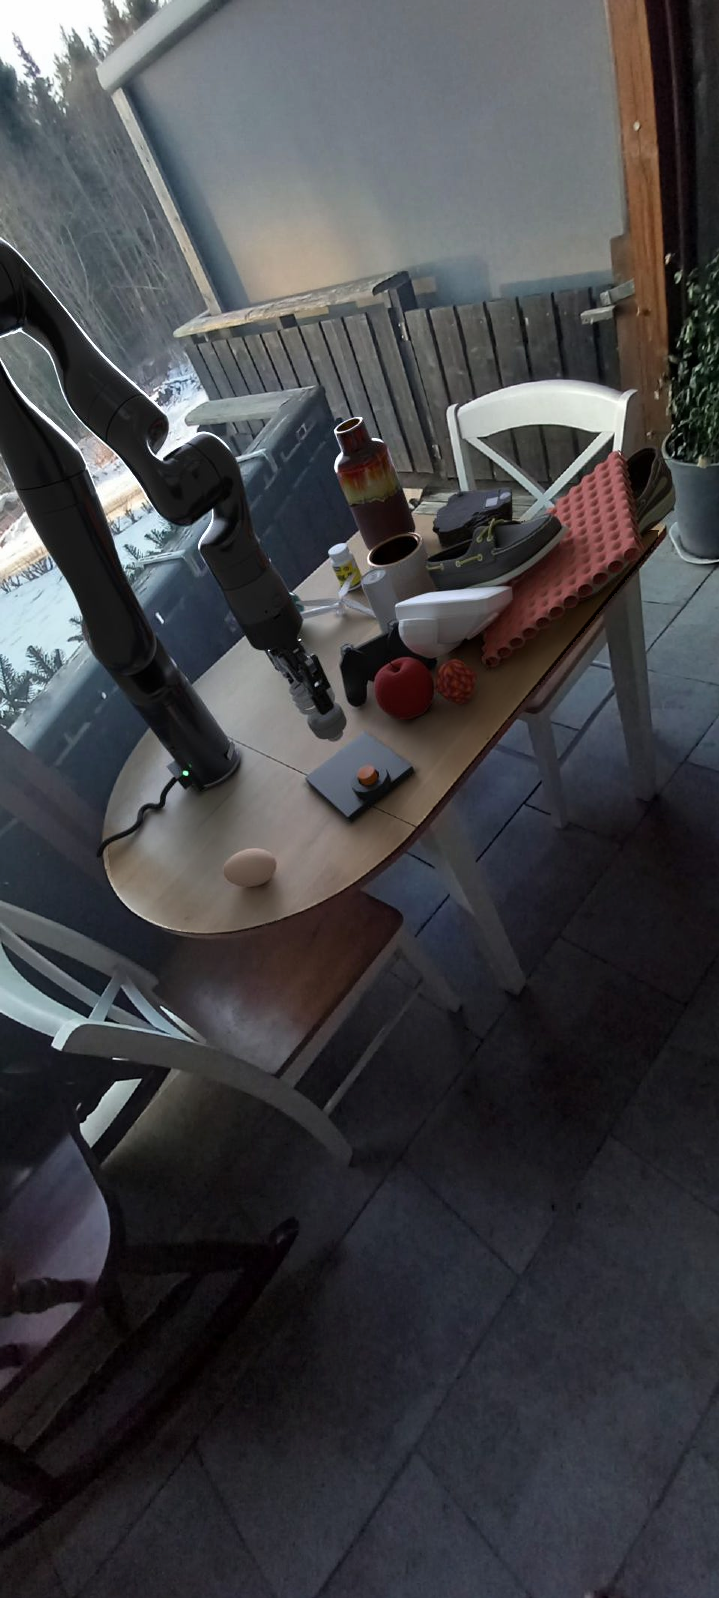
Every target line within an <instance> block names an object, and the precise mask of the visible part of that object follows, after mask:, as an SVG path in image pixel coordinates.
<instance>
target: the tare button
mask: <svg viewBox="0 0 719 1598" xmlns="http://www.w3.org/2000/svg"><path fill="white" fill-rule="evenodd" d="M357 775H358V778H359V780H360V782H361V783H362V785H364V786H369V785H372V784H373V783H375V782H376V781H377V779H378V775H377V773H376V771H375V769H374V767H372V766H364V767H362V768H361V769H360V770H359V771H358V774H357Z"/></svg>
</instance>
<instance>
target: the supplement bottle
mask: <svg viewBox="0 0 719 1598" xmlns="http://www.w3.org/2000/svg"><path fill="white" fill-rule="evenodd" d="M328 557H329V558H330V565H331V568H332V569H333V572H334V574H335V576H336V579H337V581H338V583H339V585H340V587H341V588H342V586H343V585H344V583H345V581H346V580H347V578H348V577H349V576H351V575H352V574H354V573H355V572H356V575H355V576H354V578H353V580H352V582H351V585H350V588H349V590H348V592H351V591H354V590H356V589H358V588H360V587H361V586H362V583H361V578H362V577H363V575H362V573H361V570H360V568H359V565H358V562H357V560H356V558H355V556H354V554H353V552H352V551H350V548H349V546H348V545H347V543H345V542H344V543H343V542H342V543H337V544H335V545H333V546H332V547H331V548H329V550H328ZM341 588H340V589H341Z"/></svg>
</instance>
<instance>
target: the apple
mask: <svg viewBox="0 0 719 1598" xmlns="http://www.w3.org/2000/svg"><path fill="white" fill-rule="evenodd" d="M386 661H387V662H389V663H388V664H387V665H385V666H384V667H383V668H381V669H380V670H379V672H378V673H377V675H376V677H375V681H374V682H373V694H374V698H375V701H376V703H377V704H378V706H379V708H380V709H381V710H382V711H383V712H384V713H385V714H387V715H389V716H390V717H393V718H396V719H401V720H409V719H413V718H415V717H418V716H420V715H422V714H424V713H425V712H426V711H428V709H429V707H430V706H431V704H432V702H433V700H434V696H435V681H434V678H433V676H432V674H431V672H430V671H429V670H428V669H427V667H426V666H425V665H424V664H423V663H422V662H420V661H419V660H416V659H413V658H410V657H403V658H399V659H396V660H394V661H392V662H390V661H389V658H387V659H386Z"/></svg>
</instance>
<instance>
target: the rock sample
mask: <svg viewBox="0 0 719 1598" xmlns="http://www.w3.org/2000/svg"><path fill="white" fill-rule="evenodd" d="M513 507H514V506H513V491H512V489H511V487H506V486H505V487H499V488H493V489H489V490H485V491H481V490H476V489H473V490H460V491H457V492H456V493H453V494H452V495H450V496H449V497H448V498H447V503H446V504H445V505H443V506H442V507H439V508H438V510H437V511H436V513H435V515H436V517H435V518H434V519H433V521H432V525H433V526H432V529H431V530H432V532H433V533H434V534H436V535H437V538H438V544H439V545H440V547H444V546H445V547H449V548H450V547H452V546H454V545H457V544H459V543H462V542H464V541H467V540H470V539H473V533H474V531H475V529H476V528H478V527H480V526H489V524H488V522H491V521H492V520H493V518H494V519H495V521H498V520H501V519H503V520H505V521H511V520H513V515H514V514H513V513H514V510H513V509H514V508H513Z"/></svg>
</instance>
